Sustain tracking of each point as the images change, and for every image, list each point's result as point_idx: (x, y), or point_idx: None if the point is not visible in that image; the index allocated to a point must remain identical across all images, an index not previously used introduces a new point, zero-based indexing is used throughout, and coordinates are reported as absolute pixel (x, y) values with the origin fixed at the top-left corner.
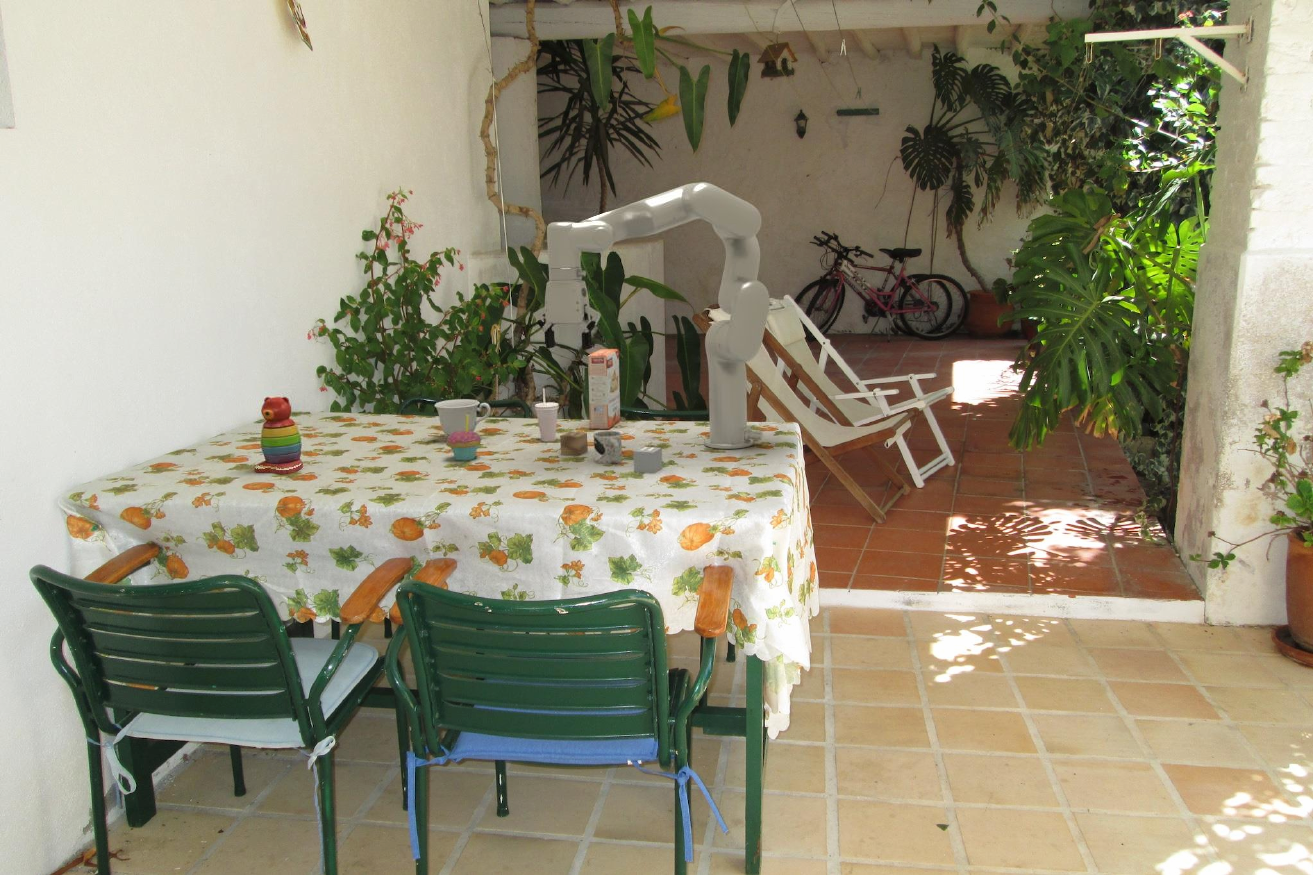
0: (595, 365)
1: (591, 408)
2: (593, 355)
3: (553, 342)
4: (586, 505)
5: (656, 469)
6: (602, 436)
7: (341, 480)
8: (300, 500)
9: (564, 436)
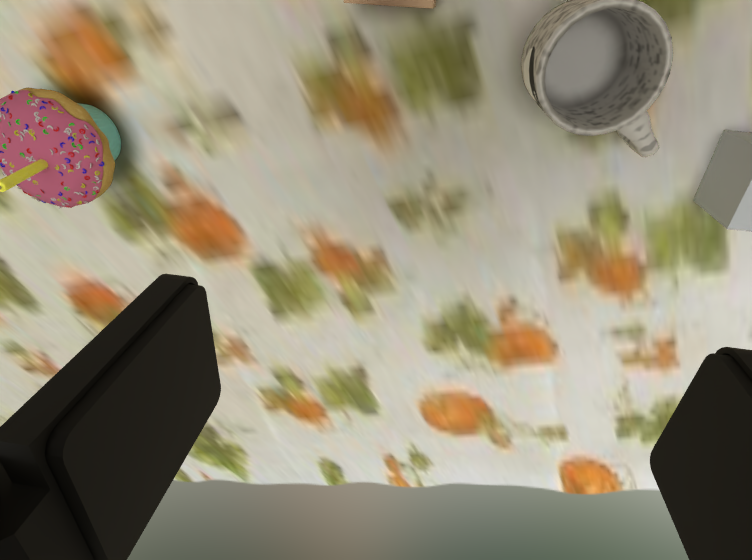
0: None
1: None
2: None
3: (181, 344)
4: (601, 461)
5: None
6: (588, 129)
7: (28, 363)
8: None
9: (365, 3)
